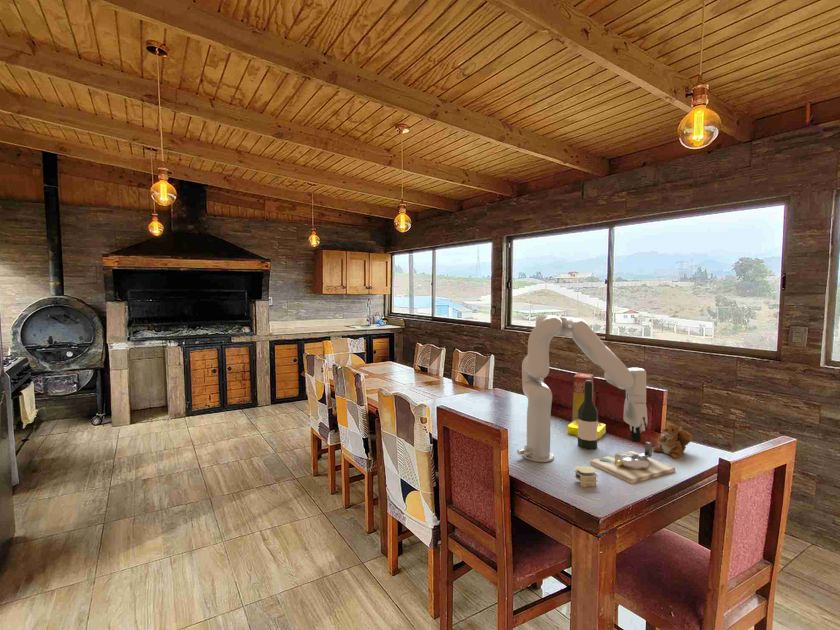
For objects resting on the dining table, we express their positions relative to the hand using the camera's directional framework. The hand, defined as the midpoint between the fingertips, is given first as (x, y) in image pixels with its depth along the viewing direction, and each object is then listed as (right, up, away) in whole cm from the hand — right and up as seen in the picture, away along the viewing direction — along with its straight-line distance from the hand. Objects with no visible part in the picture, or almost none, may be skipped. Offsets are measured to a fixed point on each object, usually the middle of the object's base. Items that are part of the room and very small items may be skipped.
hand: (635, 441), depth 171 cm
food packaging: (-2, -5, +51) cm, 51 cm away
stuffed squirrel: (+19, -7, +6) cm, 21 cm away
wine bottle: (-15, -7, +13) cm, 21 cm away
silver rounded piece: (-6, -6, -9) cm, 12 cm away
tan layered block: (-30, -9, -23) cm, 39 cm away
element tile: (-8, -6, +31) cm, 33 cm away
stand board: (-7, -8, -10) cm, 14 cm away
